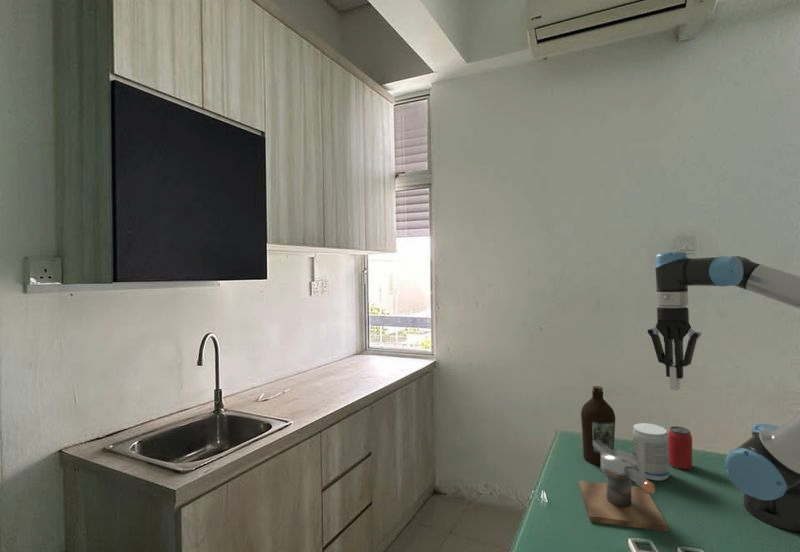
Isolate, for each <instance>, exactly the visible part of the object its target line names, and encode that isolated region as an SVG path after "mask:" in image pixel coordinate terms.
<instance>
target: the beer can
mask: <svg viewBox="0 0 800 552" xmlns="http://www.w3.org/2000/svg"><path fill="white" fill-rule="evenodd" d="M667 435H668V458H669V465H670V466H672V467H673V468H677V469H680V470H691V469H692V468H693V437H692V434H691V430H690V429H689V428H685V427H682V426H677V425H676V426H675V425H674V426H670V427H669V431H668V432H667Z"/></svg>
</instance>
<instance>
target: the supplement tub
mask: <svg viewBox="0 0 800 552" xmlns="http://www.w3.org/2000/svg"><path fill="white" fill-rule="evenodd" d="M632 446H633V447H632V448H633V452H632V453H633V455H634V456H635V457H636V458H637V471H638V472H639V473H640V474H641V475H642V476H644V477H645V478H646V479H647V480H651V481H664V480H667V479H668V478H669V476H670V472H669V471H670V470H669V465H670V464H669V458H668V430H667V429H666V427H665V428H664V427H663V426H661V425H658V424H653V423H649V422H647V423H645V422H643V423H642V422H641V423H636V424H633V429H632Z"/></svg>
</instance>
